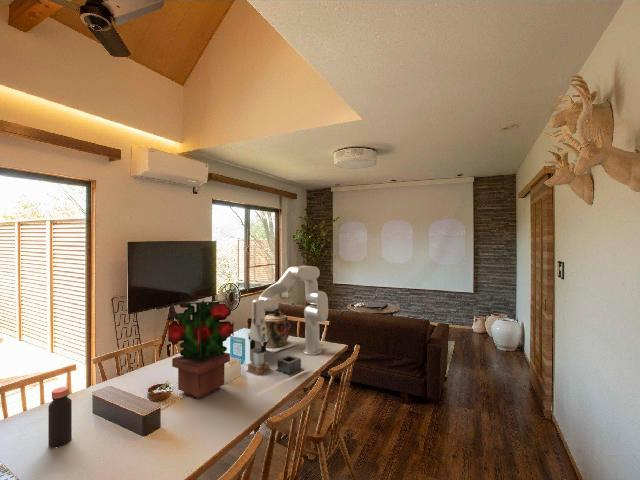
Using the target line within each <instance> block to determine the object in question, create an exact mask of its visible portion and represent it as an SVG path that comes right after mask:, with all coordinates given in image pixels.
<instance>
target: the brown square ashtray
mask: <svg viewBox="0 0 640 480" xmlns="http://www.w3.org/2000/svg"><path fill="white" fill-rule="evenodd" d="M270 371H272V368H270V363H269V362H267V361H264V364H262V365H260V366H256V365H254V361H251V362H250V363H248V364H247V370H245V372H246V373H249V374H251V375H253V376H256V377H259V376H261V375H264V374H266V373H268V372H270Z"/></svg>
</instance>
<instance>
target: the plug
mask: <svg viewBox="0 0 640 480" xmlns="http://www.w3.org/2000/svg"><path fill="white" fill-rule="evenodd" d="M264 355H265V354H264V353H261V349H260V348H258V349H255V350H254V361H253V362H254V365H256V366H260V365H262V364H264V359H265V358H264Z"/></svg>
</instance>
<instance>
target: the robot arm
mask: <svg viewBox="0 0 640 480" xmlns="http://www.w3.org/2000/svg"><path fill="white" fill-rule="evenodd" d="M320 273H321V271H320V269H319V268H318V267H317V266H313V265H312V266H311V265H299V266H295V265H293V266H290V267H288V268H287V269H286V271H285V272H284V273H283V274H282V276H280V278H279V279H278V280H277V282H275V283H273V284H271V285H270V286H269V287H267V288H266V289H265V290H264V291H263V292H262V293H261V294H260V295H259V297H258V298H255V299H253V300H252V301H251V324H250V331H249V332H248V333H247V337H248V340H249V341H248V342H249V350H250V349H254V348H255V341H258V342H261V344H262V346H261V353H264V352H266V353H267V351H266V345H267V343H268V341H269V338H268V337H267V329H266V324H265V316H266V312H269V311H274V310H276V309H277V308H278V306H279V303H278V302H279V300H277V299H276V298H274V297H275V296H276V295H279V294H284V293H286V292H288V291H289V290H290V289H291V287H292V286H293V285H294V283H295V282H296V281H303V282H304V285H305V286H304V287H305V301H306V302H307V304H310V305H306V307H305V308H304V310H303V315H304V322H305V348H304V349H303V350H302V352H303V354H304V355H307V356H308V355H309V356H316V355H317V356H318V355H320V354H322V352H323V350H322V349H321V348H322V347H324V344H323V342H321V343H320V323H324V322H326V321H327V320H328V316H329V298H328V295H327V293H326V292H324V291H323V290H319V287H318V286H319V285H318V284H319V283H318V278H319V277H320V275H321V274H320ZM254 340H255V341H254ZM263 342H264V343H263Z"/></svg>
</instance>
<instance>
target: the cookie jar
mask: <svg viewBox="0 0 640 480" xmlns="http://www.w3.org/2000/svg"><path fill="white" fill-rule="evenodd" d="M279 302H280V301H278V303H279ZM279 307H280V306H279V305H278V308H277V309H276V310H274V311H268V314H267V315H266V314H265V324H266V329H267V337H268V338H269V341H268V343H267V345H266V352H270V353H272V354H274V353H277V352H279V351H281V350H285V349H289V348H291V347H294V346H297V345H298V344H299V341H296V340H295V341H294V340H291V339H289V337H290V335H289V333H290V332H289V330H290V328H291V326H292V325H291V324H290V323H289V319H288V316H287V315H285V314H284V313H282V312H281V310H280V308H279Z"/></svg>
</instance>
